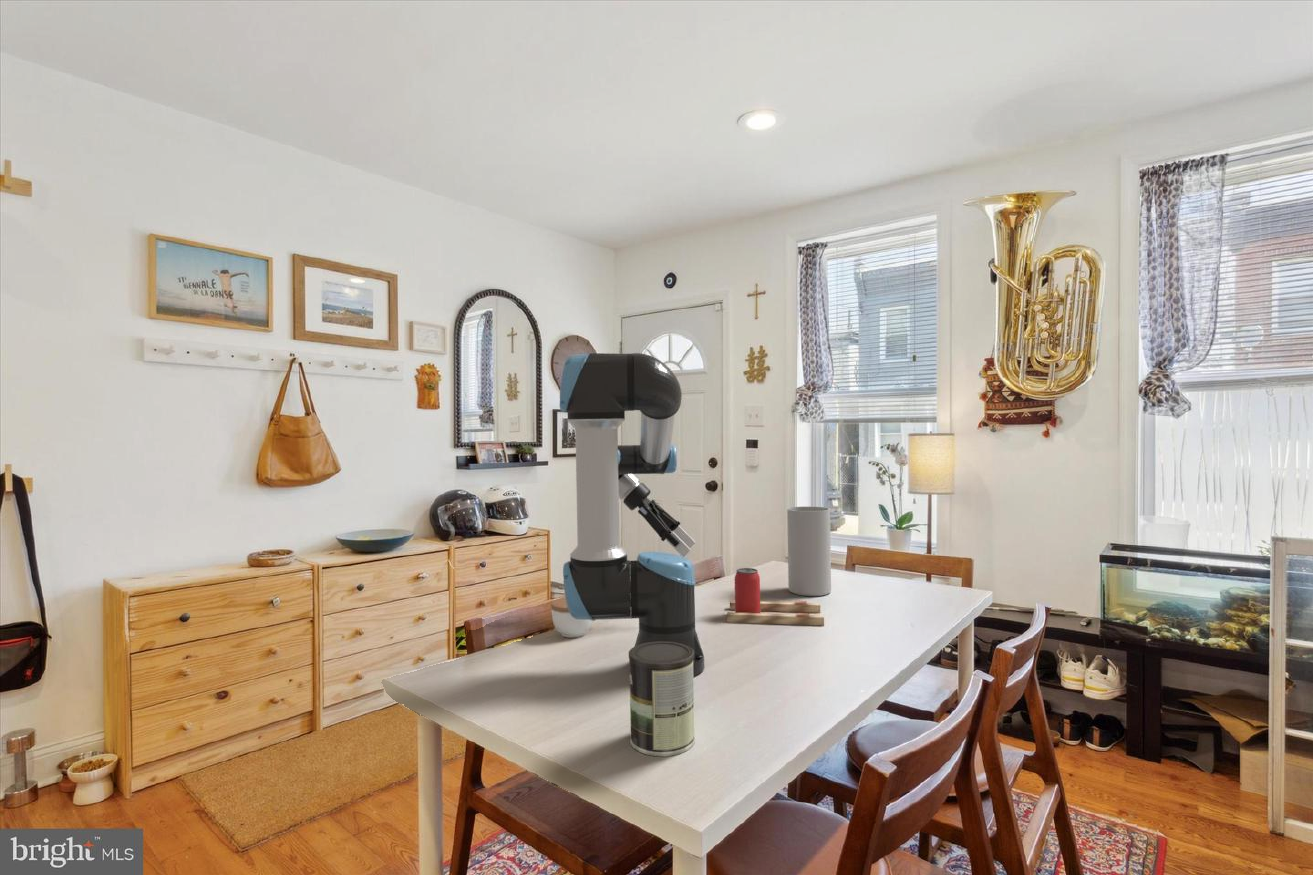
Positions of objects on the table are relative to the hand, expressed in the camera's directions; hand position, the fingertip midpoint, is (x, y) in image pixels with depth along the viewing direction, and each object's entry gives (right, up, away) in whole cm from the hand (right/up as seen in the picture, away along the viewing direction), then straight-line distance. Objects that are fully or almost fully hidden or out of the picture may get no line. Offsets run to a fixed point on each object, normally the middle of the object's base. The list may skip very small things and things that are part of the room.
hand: (689, 549), depth 171 cm
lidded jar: (-29, -18, -15) cm, 37 cm away
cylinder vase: (+37, -17, +21) cm, 46 cm away
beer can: (+15, -17, -3) cm, 23 cm away
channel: (+22, -17, -4) cm, 28 cm away
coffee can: (-8, -18, -71) cm, 73 cm away
